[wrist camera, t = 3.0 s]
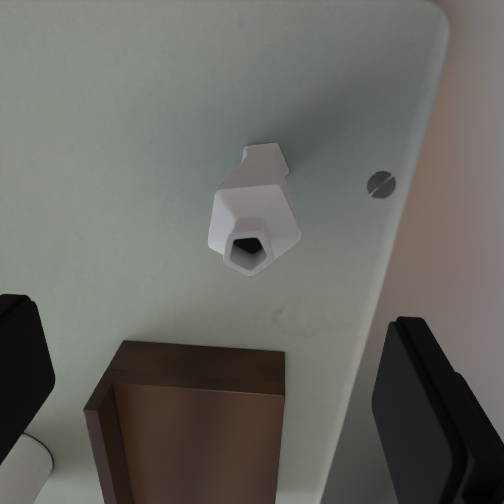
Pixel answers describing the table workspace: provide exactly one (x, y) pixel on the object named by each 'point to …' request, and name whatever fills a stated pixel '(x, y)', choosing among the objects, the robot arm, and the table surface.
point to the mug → (24, 471)
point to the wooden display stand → (188, 425)
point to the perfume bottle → (254, 212)
